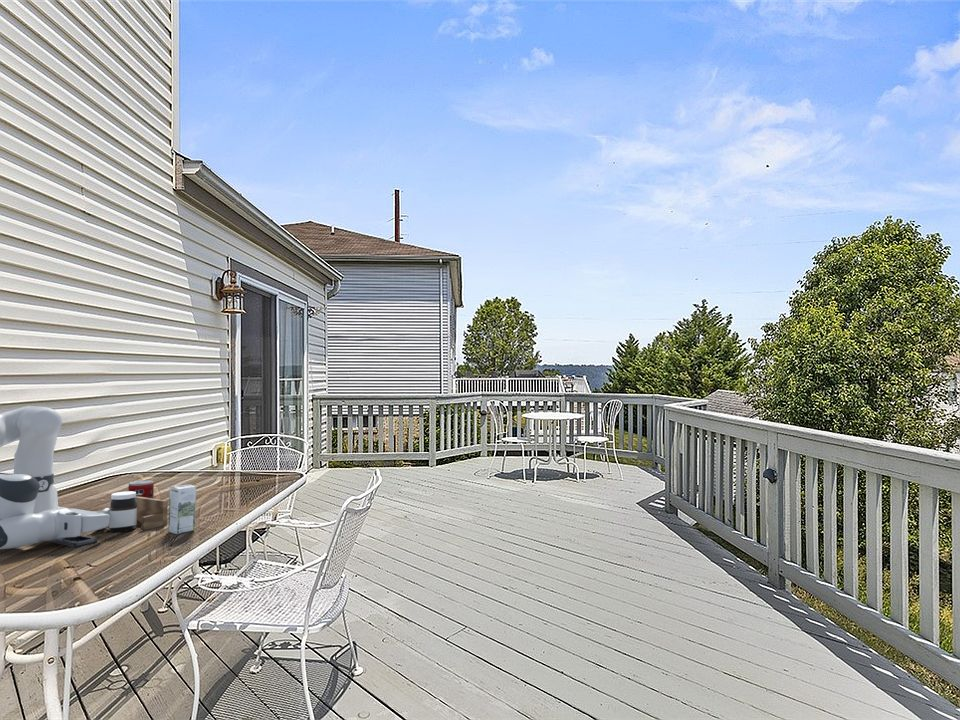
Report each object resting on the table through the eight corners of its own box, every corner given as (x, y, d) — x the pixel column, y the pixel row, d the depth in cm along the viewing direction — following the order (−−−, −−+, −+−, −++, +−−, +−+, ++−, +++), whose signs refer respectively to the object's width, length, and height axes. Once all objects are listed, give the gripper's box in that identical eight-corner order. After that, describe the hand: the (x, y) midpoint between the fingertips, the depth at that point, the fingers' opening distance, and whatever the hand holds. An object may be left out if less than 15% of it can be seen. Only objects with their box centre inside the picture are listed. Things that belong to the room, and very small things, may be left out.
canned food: (123, 512, 204) (124, 482, 205) (145, 508, 211) (145, 479, 212) (135, 515, 201) (136, 484, 201) (157, 510, 208) (158, 481, 208)
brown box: (111, 524, 188) (111, 500, 188) (134, 519, 195) (134, 496, 196) (144, 530, 181) (144, 505, 181) (166, 524, 188) (167, 500, 189)
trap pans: (39, 539, 169) (39, 535, 169) (61, 535, 175) (61, 531, 175) (75, 547, 162) (75, 543, 162) (97, 542, 167) (97, 538, 167)
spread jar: (137, 531, 180) (138, 494, 180) (94, 536, 173) (96, 498, 174) (135, 523, 190) (136, 488, 190) (94, 528, 183) (95, 492, 184)
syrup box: (185, 528, 183) (187, 483, 184) (195, 531, 180) (196, 485, 181) (167, 532, 179) (169, 486, 179) (177, 535, 175) (178, 488, 176)
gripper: (37, 529, 170) (86, 519, 182) (78, 538, 161) (126, 526, 174) (38, 509, 170) (86, 500, 183) (79, 516, 162) (126, 506, 174)
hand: (106, 513), depth 178 cm, fingers closed, pressing on spread jar
